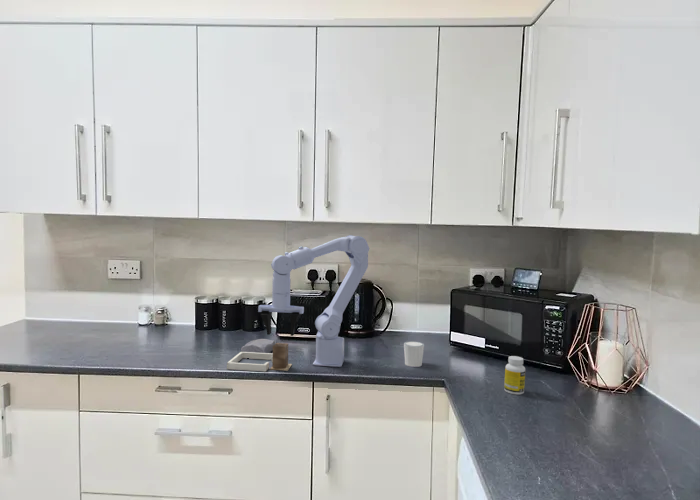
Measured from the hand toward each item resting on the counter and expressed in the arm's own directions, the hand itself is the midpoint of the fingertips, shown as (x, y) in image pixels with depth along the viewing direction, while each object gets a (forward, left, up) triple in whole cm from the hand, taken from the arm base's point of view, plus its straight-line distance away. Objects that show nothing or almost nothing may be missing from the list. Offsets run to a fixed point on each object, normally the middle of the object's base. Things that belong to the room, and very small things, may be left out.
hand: (280, 334), depth 146 cm
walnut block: (0, +1, -10) cm, 10 cm away
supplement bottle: (-71, +10, -11) cm, 73 cm away
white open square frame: (+9, 0, -10) cm, 14 cm away
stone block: (+12, -15, -11) cm, 22 cm away
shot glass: (-43, -10, -11) cm, 46 cm away
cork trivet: (-1, +1, -10) cm, 10 cm away
